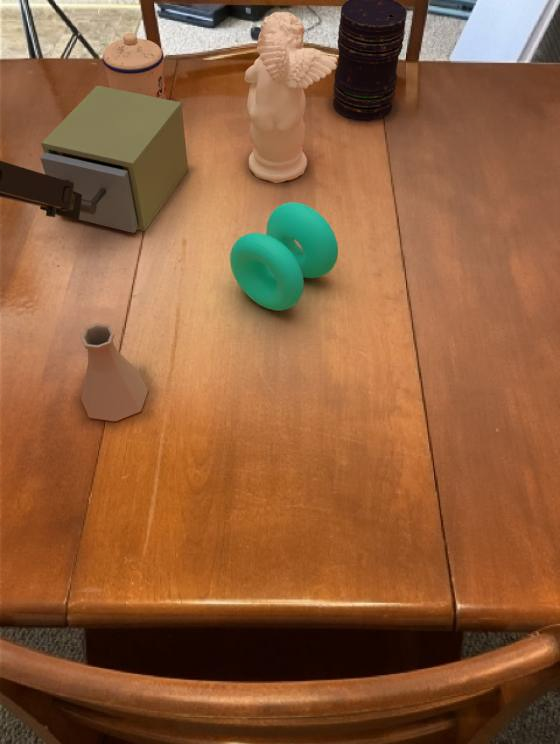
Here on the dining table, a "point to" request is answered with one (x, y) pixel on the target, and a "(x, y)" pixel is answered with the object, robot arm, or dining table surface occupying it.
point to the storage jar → (368, 58)
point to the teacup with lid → (135, 66)
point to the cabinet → (128, 142)
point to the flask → (109, 378)
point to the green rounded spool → (284, 256)
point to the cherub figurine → (281, 96)
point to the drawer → (97, 189)
